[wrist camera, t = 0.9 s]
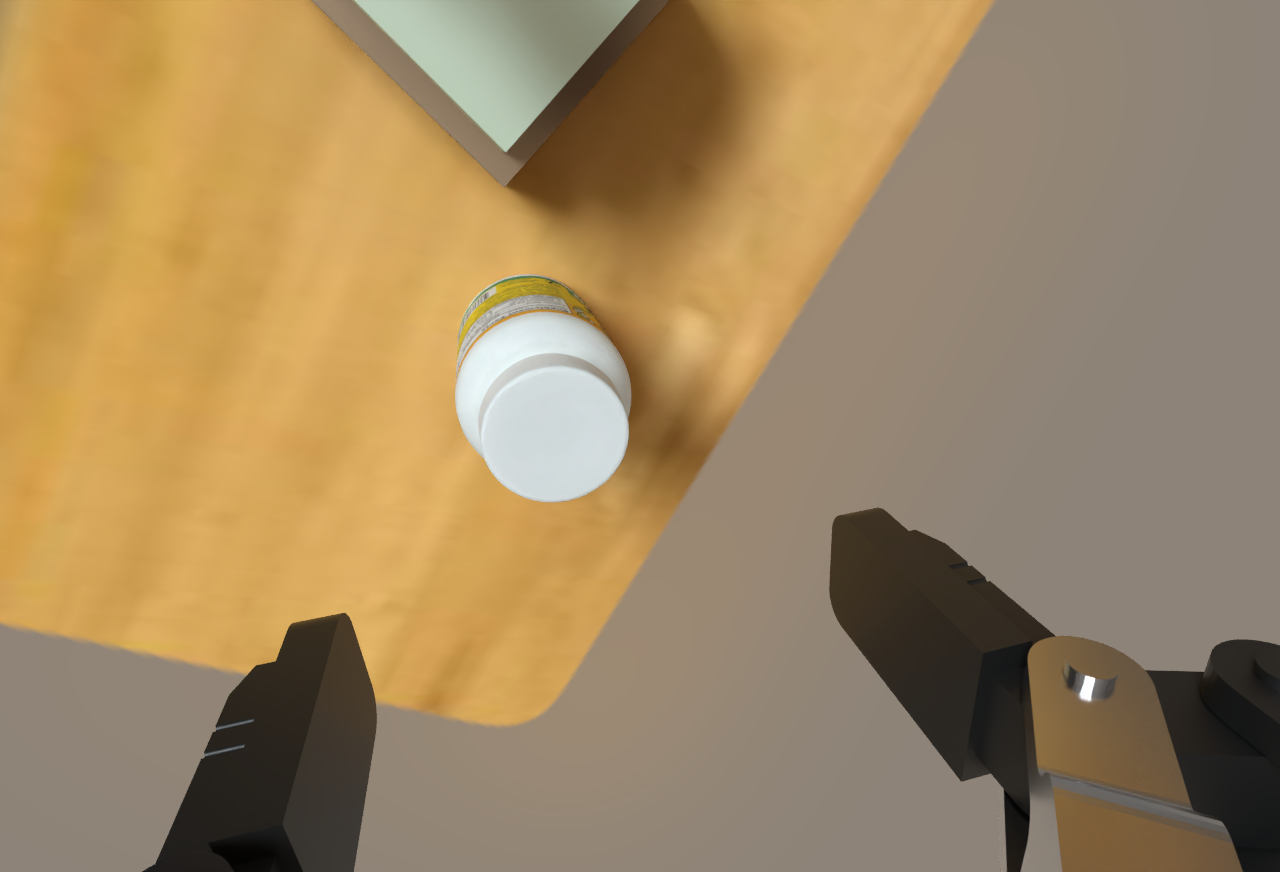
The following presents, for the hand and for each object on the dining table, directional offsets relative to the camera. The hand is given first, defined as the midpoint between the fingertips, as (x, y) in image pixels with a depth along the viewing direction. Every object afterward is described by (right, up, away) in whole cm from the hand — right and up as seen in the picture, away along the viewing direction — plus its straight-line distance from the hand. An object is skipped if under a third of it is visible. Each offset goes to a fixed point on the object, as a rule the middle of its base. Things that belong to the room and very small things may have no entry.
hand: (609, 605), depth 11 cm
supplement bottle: (-4, +7, +16) cm, 17 cm away
